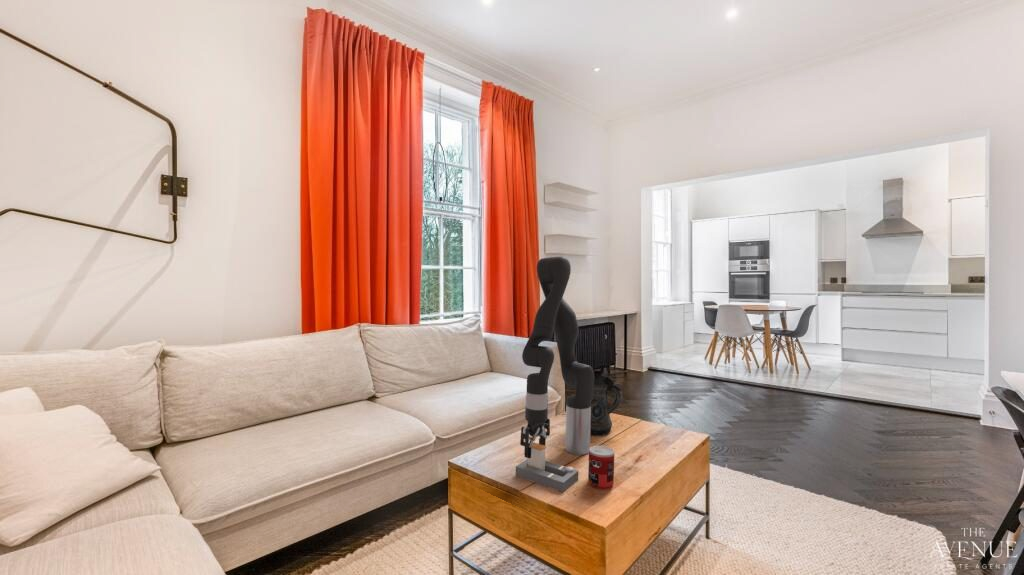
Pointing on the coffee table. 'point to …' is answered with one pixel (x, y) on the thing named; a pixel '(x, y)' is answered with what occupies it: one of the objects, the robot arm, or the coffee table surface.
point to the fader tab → (537, 456)
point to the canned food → (601, 467)
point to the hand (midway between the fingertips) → (535, 453)
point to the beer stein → (603, 404)
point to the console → (549, 475)
